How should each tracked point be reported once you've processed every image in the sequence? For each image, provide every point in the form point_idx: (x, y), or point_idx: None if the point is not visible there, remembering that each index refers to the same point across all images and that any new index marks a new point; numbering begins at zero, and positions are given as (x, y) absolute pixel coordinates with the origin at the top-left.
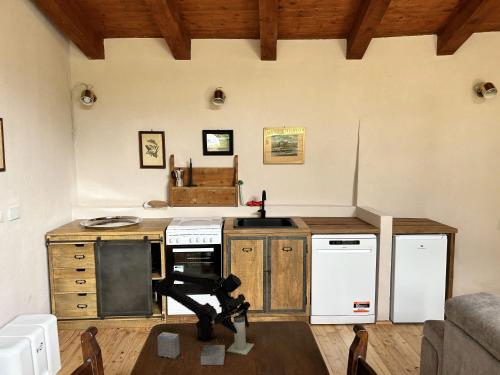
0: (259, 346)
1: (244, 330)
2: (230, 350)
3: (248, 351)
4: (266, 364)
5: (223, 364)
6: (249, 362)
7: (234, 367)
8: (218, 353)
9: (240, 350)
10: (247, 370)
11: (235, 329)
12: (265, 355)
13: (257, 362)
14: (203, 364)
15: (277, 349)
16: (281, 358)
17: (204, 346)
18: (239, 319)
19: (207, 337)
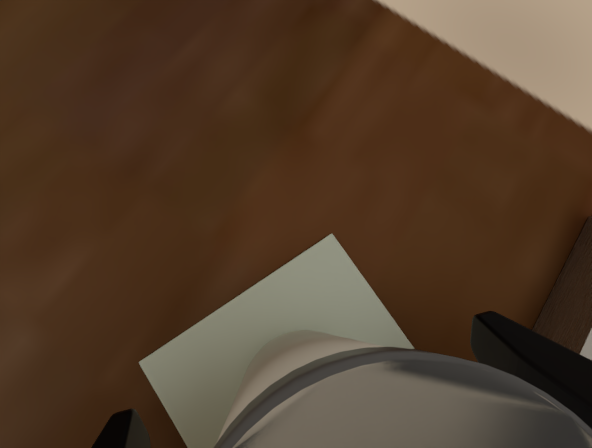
0: (112, 301)
1: (282, 351)
2: None
3: (280, 268)
4: (268, 21)
5: (590, 216)
6: (371, 120)
7: (518, 130)
8: None
9: (342, 331)
10: (444, 41)
11: (539, 343)
12: (182, 128)
13: (312, 82)
14: None
15: (13, 146)
16: (104, 17)
17: None
18: (517, 405)
19: None
